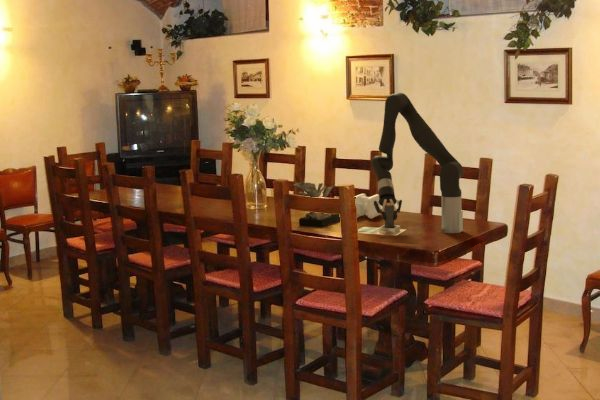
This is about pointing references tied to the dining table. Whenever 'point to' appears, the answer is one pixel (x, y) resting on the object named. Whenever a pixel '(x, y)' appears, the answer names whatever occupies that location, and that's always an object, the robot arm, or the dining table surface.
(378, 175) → the robot arm
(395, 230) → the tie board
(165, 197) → the dining table surface
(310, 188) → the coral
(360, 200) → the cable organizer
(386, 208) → the dark grey cylinder
